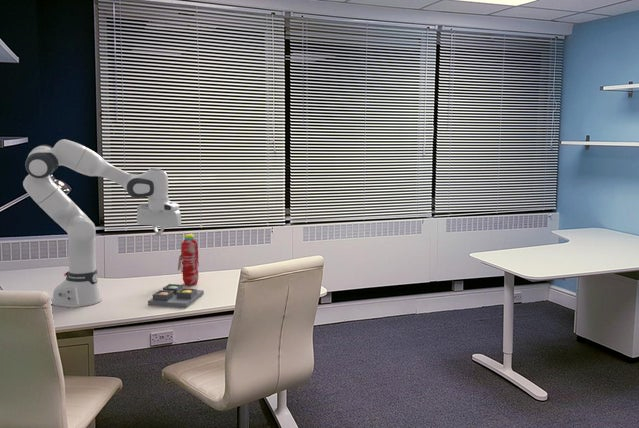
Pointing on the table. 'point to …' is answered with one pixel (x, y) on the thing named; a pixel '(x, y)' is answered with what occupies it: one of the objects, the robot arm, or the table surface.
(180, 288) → the button panel
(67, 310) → the table surface
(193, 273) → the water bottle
